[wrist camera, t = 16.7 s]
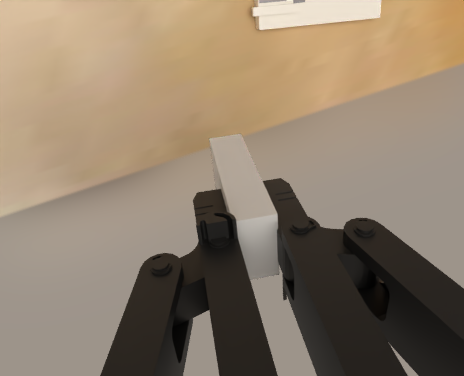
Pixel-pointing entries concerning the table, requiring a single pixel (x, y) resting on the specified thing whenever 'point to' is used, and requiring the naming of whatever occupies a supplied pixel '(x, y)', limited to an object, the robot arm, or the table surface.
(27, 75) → the table surface
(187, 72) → the table surface
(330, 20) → the white fixture board
